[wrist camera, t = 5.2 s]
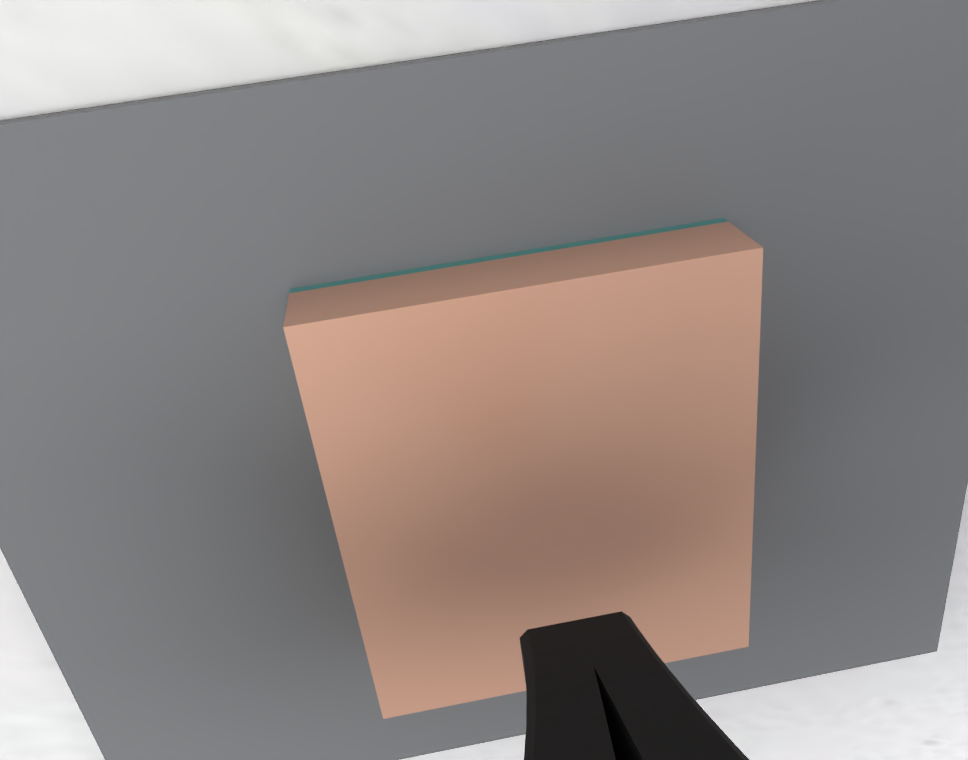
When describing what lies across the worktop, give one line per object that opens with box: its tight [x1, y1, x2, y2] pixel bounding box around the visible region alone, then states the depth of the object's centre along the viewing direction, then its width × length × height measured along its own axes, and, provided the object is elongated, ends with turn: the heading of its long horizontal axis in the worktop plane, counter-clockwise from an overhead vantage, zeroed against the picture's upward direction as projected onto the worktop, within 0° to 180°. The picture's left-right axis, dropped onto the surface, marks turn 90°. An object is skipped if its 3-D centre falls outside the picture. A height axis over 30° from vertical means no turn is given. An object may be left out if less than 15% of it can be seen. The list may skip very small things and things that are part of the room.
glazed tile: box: [283, 218, 763, 719], centre depth 15 cm, size 2×8×7 cm
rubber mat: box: [0, 0, 968, 760], centre depth 16 cm, size 18×14×1 cm
